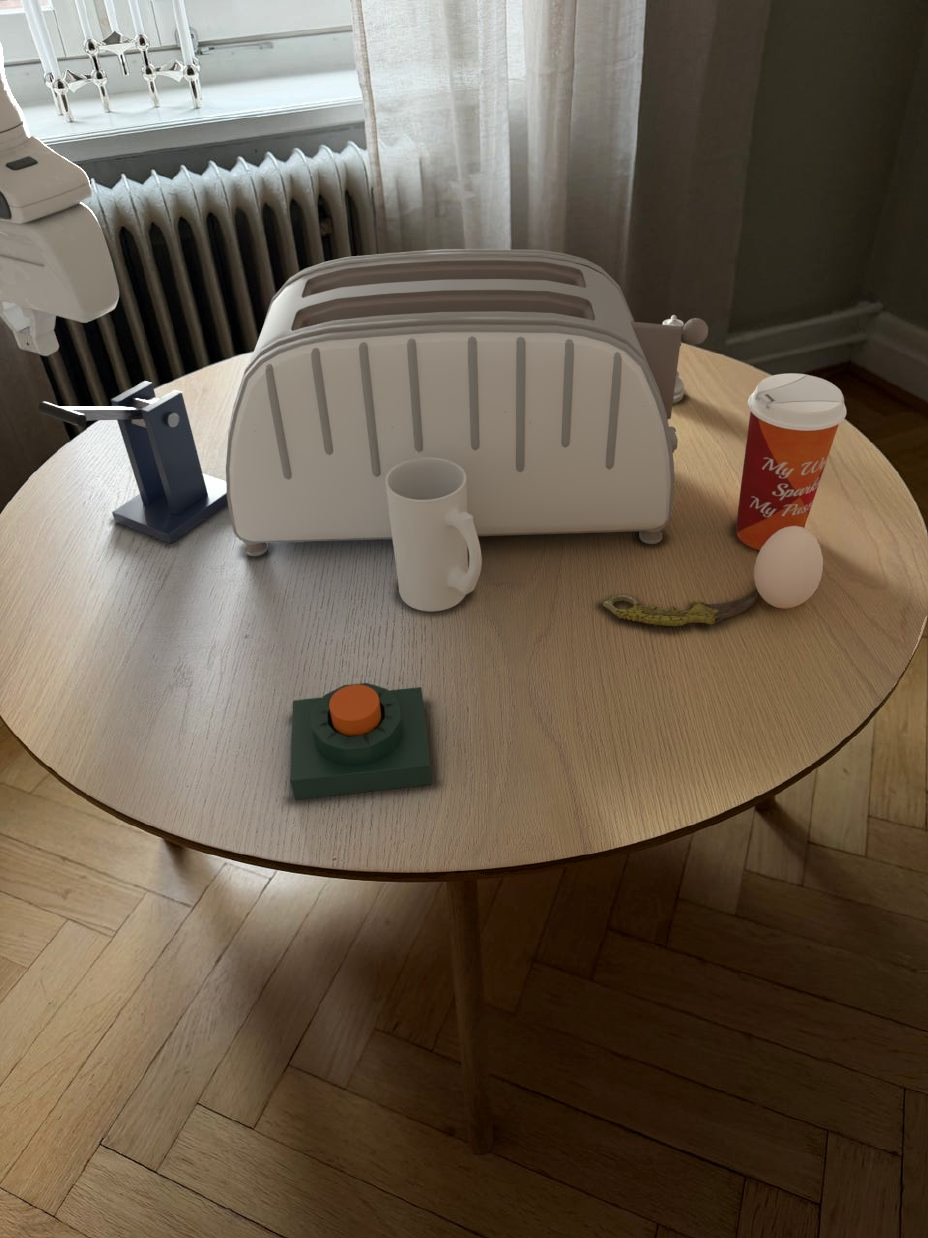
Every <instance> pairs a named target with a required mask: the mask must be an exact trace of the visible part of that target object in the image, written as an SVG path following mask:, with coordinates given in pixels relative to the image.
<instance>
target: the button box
mask: <svg viewBox="0 0 928 1238" xmlns="http://www.w3.org/2000/svg"><path fill="white" fill-rule="evenodd" d="M349 685H365V686H368V687H370V688H372V689H373V690H374V691H375V692H376V693H377V695H378V697H379V702H380V710H381V720H380V723H379V724H378V726H377V727H376V728H375V729H374V730H373V731H371V732H369V733H367V734H365V735H361V736H347V735H344V734H341V733H340V732H338V731H337V730H336V729H335V728H334V726H333V723H332V718H331V713H330V707H329V703H330V700H331V698H332V696H333V695H334V693H336V692H337V691H338V690H340V689H341V688H343V687H346V686H349ZM424 705H425V704H424V696H423V688H422V687H421V686H418V687H408V688H400V689H399V688H398V689H390V690H389V689H388V688H385V687H382V686H379V685H375V684H372V683H369V682H361V683H351V684H344V685H341V686H339V687H337V688H335V689H334V690H332V691H329V692H328V693H326V694H324V695H323V696H322V697H314V698H304V699H303V698H302V699H293V700H292V712H291V713H292V715H291V744H290V769H289V770H290V771H289V783H290V786H291V790H292V794H293V799H294V800H295V801H297V800H306V799H314V798H324V797H333V796H340V795H349V794H358V793H366V792H375V791H377V792H378V791H385V790H393V789H394V790H395V789H403V788H413V787H421V786H431V785H432V784H433V780H432V779H433V778H432V767H431V758H430V749H429V740H428V731H427V722H426V713H425V706H424Z"/></svg>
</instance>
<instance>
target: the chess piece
mask: <svg viewBox="0 0 928 1238" xmlns="http://www.w3.org/2000/svg"><path fill="white" fill-rule="evenodd" d="M662 325H672V326H681V327H682V328H683V327H684V325H685V323H684V321H682V320H681V319H678V316H677V315H675V314H673V315H671V317H670V318H668V319H665V320H663V321H662ZM681 346H682V342H681V343H680V347H681ZM684 389H685V384H684V381H683V380H682V379H681V378H680V372H679V371H678V370H677V374H676V382H675V390H674V398H673V404H676V403H678V402H680V401H682V399H683V398H684V395H685V394H684V393H685V391H684Z"/></svg>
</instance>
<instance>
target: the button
mask: <svg viewBox="0 0 928 1238" xmlns="http://www.w3.org/2000/svg"><path fill="white" fill-rule="evenodd" d="M348 685H349V686H346V687H343V688H341V689H340V690H338V691H337V692H336V693H334V695H333V696H332V698H331V700H330V703H329V707H330V713H331V718H332V723H333V726H334V728H335V729H336V730H337V731H338V732H340V733H341V734H344V735H347V736H361V735H365V734H367V733H369V732H371V731H373V730H374V729H375V728H376V727H377V726H378V724H379V723H380V720H381V710H380V702H379V697H378V695H377V693H376V692H375V691H374V690H373V689H372V688H370V687H368V686H365V685H350V684H348Z"/></svg>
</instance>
